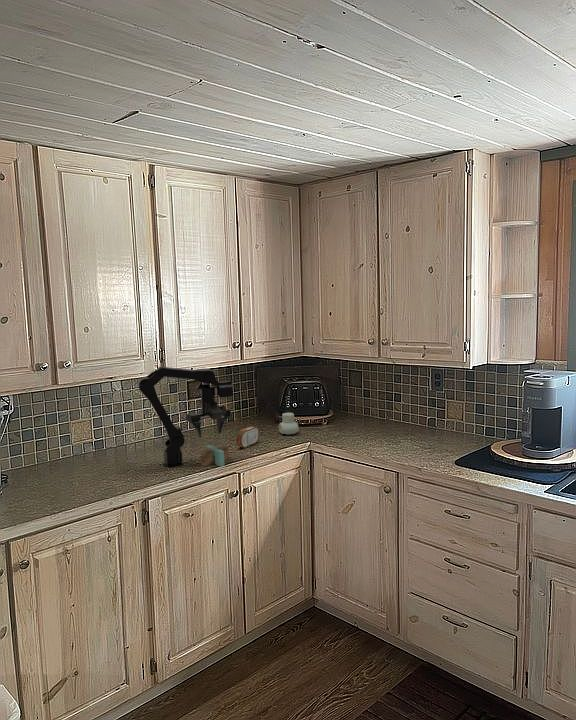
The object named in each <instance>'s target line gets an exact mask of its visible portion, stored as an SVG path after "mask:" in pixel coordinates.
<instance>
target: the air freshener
mask: <svg viewBox="0 0 576 720" xmlns="http://www.w3.org/2000/svg"><path fill="white" fill-rule="evenodd" d="M281 415H282V416H281V417H282V419H281V420H282V422H280V423H279V424H278V430H279V431H278V432H279V433H280V434H281V435H283V434H286V436H289V435H291V434H292V435H295V434H297V433H298V432H299V430H300V429H299V424H298V422H297V421H295V414H294V413H293V412H284V413H282V414H281ZM292 435H291V436H292Z"/></svg>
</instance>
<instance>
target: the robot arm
mask: <svg viewBox="0 0 576 720" xmlns="http://www.w3.org/2000/svg"><path fill="white" fill-rule="evenodd" d="M163 378H173V379H174V378H175V379H187V380H193V381H196V382H199V383H198V384H197V386H195V388H196V389H197V390H200V401H199V403H200V404H201V410H200V413H196V412H191V413H187V414H186V415H185V421H186V422H189V423H191V424H192V426H193V428H194V429H195V432H196V434H197V436H198V437H199V438H202V428H201V425H202V422H201V420H202V419H207V418H210V419H211V420H216V425H217V426H216V427H217V428H216V429H217V432H218V434H220V435H221V433H222V429H223V427H224V424H225V422H226V421H227V419H229V418H230V417H232V411H231V409H229V408H227V407H226V405H220V406H218V402H217V401H216V396H217V397H218V398H219V399H223V398H224V399H226V398H233V397H234V389H233V384H232V381H231V380H227V381H219V380H218V379H216V375H215V372H214V371H213V370H211V369H210V368H205V367H204V368H195V369H187V368H177V367H168V366H163V365H162V366H161V365H160V366H159V367H157V369H154V370H153V371H152V372H151V373H149V374H148V375H147V376H142V377H141V378H139V380H137V381H138V382H137V387H138V389H139V391H140V392H141V393H142V394H143V395H144V396H145V398H146V399H147V400H148V401H149V403H150V404H151V406H152V407H153V409H154V411H155V413H156V415H157V416H158V418H159V420H160V421H161V423H162V425H163V427H164V428H165V432H166V435H167V437H168V439H167V440H166V441H165V442H164V443H163V445H164V447H165V450H163V454H164V455H163V456H164V457H163V459H164V460H163V461H164V462H162V465H164V466H165V467H167V468H173V467H178V466H182V465H184V463H183V452H182V449H181V448H182V447H183V446H184V444H185V442H186V440H185V436H186V435H185V434H184V432H183V431H182V429H181V427H180V425H179V424H178V425H176V426H175V424H174V423H173V422H172V420H171V418H170V416H169V415H168V413H167V411H166V409H165V407H164V406H163V404H162V402H161V401H160V398H159V396H158V393H157V391H156V388H155V386H156V385H158V383H159V382H160V381H161V380H163ZM202 383H203V384H202ZM210 384H212V385H210Z"/></svg>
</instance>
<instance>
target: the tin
mask: <svg viewBox="0 0 576 720" xmlns="http://www.w3.org/2000/svg"><path fill="white" fill-rule="evenodd" d="M259 436H260V431H259V428H258V427H257V426H253V425H250V426H247V427H245V428H243V429H240V430H239V431H238V433H237V436H236V446H237V447H239V448H245V447H246V448H248V447H251V446H253V445H255V444H256V443H258V441H259V438H260V437H259ZM254 443H255V444H254ZM252 444H253V445H252ZM250 445H251V446H250ZM247 446H248V447H247Z"/></svg>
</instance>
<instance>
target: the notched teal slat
mask: <svg viewBox="0 0 576 720" xmlns="http://www.w3.org/2000/svg"><path fill="white" fill-rule="evenodd" d="M207 449H211V450H212V452H213V456H215V465H216V466H218V467H225V462H224V451H222V450H220V449H217V447H215V446H212V445H206V446H205V450H207Z"/></svg>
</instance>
